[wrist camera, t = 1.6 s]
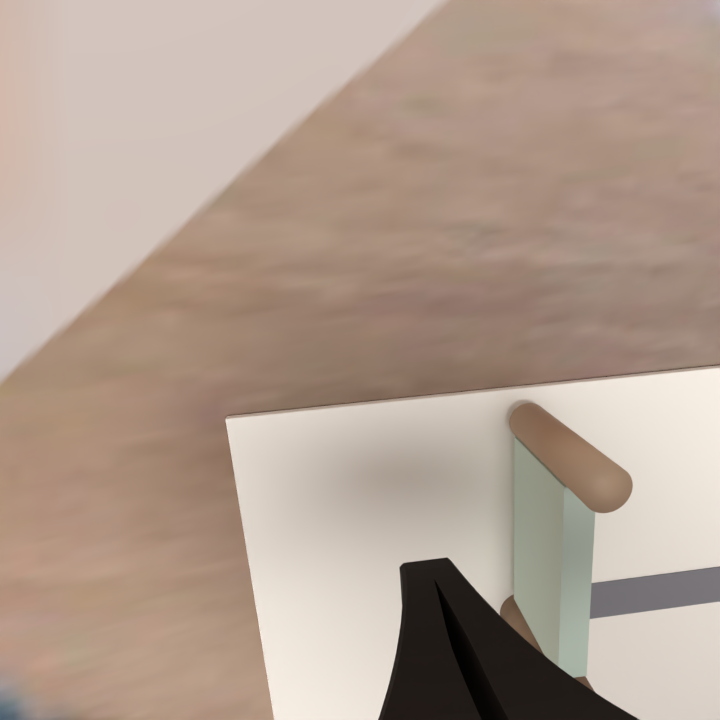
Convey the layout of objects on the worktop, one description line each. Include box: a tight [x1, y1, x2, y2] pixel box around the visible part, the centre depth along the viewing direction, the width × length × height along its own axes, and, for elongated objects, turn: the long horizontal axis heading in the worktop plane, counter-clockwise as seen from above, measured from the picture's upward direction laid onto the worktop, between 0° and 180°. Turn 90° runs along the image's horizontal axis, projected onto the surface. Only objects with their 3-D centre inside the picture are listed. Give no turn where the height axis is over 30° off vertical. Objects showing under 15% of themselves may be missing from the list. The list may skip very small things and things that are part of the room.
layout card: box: [226, 365, 720, 720], centre depth 20 cm, size 20×22×1 cm
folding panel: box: [509, 403, 633, 678], centre depth 16 cm, size 8×1×5 cm, turn 5°
